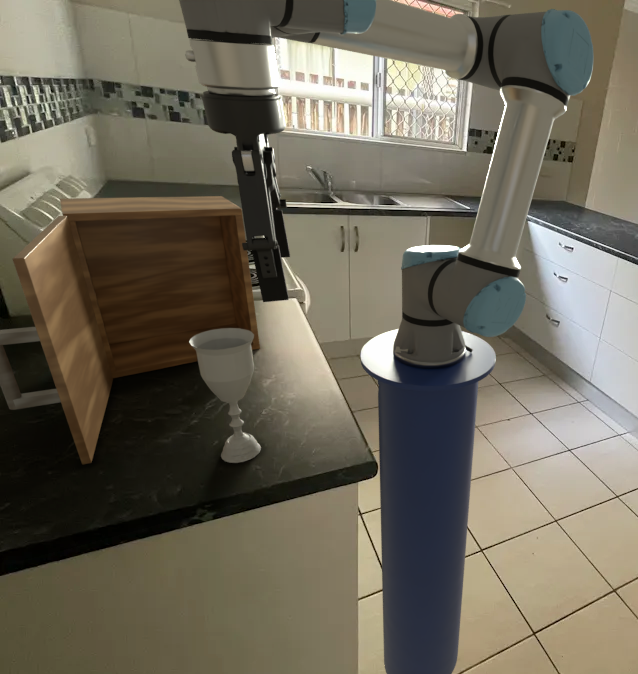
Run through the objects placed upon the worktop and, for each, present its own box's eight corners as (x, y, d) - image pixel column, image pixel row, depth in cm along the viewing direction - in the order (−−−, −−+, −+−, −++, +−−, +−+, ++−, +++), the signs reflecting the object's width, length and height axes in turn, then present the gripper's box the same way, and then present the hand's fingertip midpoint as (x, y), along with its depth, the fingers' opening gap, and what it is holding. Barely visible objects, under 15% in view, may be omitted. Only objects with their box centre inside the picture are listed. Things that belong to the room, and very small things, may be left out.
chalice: (274, 436, 72) (260, 328, 65) (263, 465, 66) (246, 349, 59) (220, 438, 70) (200, 327, 63) (204, 468, 64) (180, 350, 57)
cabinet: (260, 348, 98) (241, 208, 86) (109, 379, 82) (62, 213, 71) (241, 325, 107) (221, 196, 95) (102, 349, 92) (59, 198, 80)
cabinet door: (28, 476, 60) (-58, 261, 49) (66, 386, 79) (9, 216, 67) (91, 462, 63) (24, 258, 52) (113, 379, 82) (67, 215, 71)
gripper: (216, 79, 58) (252, 244, 69) (175, 102, 39) (234, 327, 49) (283, 83, 61) (307, 241, 72) (275, 105, 41) (311, 319, 52)
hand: (278, 276), depth 61 cm, fingers open, 13 cm apart
